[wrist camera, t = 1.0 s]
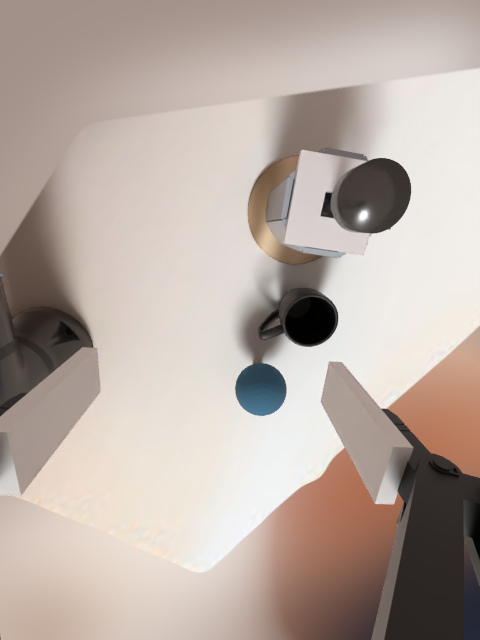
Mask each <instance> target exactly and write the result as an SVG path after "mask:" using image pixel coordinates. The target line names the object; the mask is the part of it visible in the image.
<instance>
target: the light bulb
mask: <svg viewBox="0 0 480 640" xmlns="http://www.w3.org/2000/svg"><path fill="white" fill-rule="evenodd" d="M235 390H236V396H237V400H238V401H239V403H240V405H241V406H242V407H243V408H244V409H245V410H246V411H248V412H249V413H251V414H254V415H259V416H264V415H269V414H272V413H274V412H275V411H277V410H278V409H279V408H280V407H281V405H282V404H283V402H284V400H285V397H286V383H285V380H284V378H283V376H282V374H281V373H280V372H279V371H278V370H277V369H276V368H275V367H273V366H271V365H268V364H264V363H256V364H253V365H250V366H248V367H247V368H245V369H244V370H243V371H242V372H241V374H240V375H239V377H238V379H237V381H236V387H235Z"/></svg>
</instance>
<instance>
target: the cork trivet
mask: <svg viewBox="0 0 480 640" xmlns="http://www.w3.org/2000/svg"><path fill="white" fill-rule="evenodd" d="M298 159H299V156H293V157H288V158H285V159H283V160H280V161H279V162H277V163H275V164H274V165H272V166H271V167H269V168H268V169H267V170H266V171H265V172H264V173H263V174H262V176H261V177H260V178H259V180H258V181H257V183H256V184H255V186H254V188H253V191H252V193H251V196H250V200H249V205H248V222H249V227H250V230H251V233H252V235H253V238H254V240H255V241H256V243H257V244H258V246H259V247H260V248H261V249H262V250H263V251H264V252H265V253H266V254H267V255H269V256H270V257H272V258H274V259H276V260H278V261H281V262H284V263H289V264H301V263H307V262H310V261H313V260H315V259H317V258H319V257H321V256H322V255H315V254H308V253H302V252H300V251H297V250H295V249H292V248H289V247H287V246H284V245H282V244H280V243H279V242H278V240H277V239H276V237H275V236H274V235H273V234H272V232H271V230H270V228H269V227H268V225H267V224H266V222H267V221H265V219H266V211H267V205H268V201H269V195H270V193H271V191H272V190H273V189H275V188H276V187H277V186H278V185H279V184H280V183H281V182H282V181H283V180H285V179H286V178H287V177H288V176H289V175H290V174H291V173H293V172H294V171H295V170H296V169H297V164H298Z"/></svg>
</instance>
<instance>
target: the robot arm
mask: <svg viewBox="0 0 480 640" xmlns="http://www.w3.org/2000/svg"><path fill="white" fill-rule="evenodd" d="M1 278H3V275H2V273H0V495H10V496H21V495H22V494H23V492H24V491H25V490H26V488H27V487H28V486H29V485H30V483H31V482H32V481H33V479H34V478H35V477H36V475H37V474H38V473H39V471H40V470H41V469H42V467H43V466H44V465H45V464H46V462H47V461H48V460H49V458H50V457H51V456H52V454H53V453H54V452H55V450H56V449H57V448H58V447H59V445H60V444H61V443H62V441H63V440H64V439H65V437H66V436H67V435H68V433H69V432H70V431H71V429H72V428H73V427H74V426H75V424H76V423H77V422H78V420H79V419H80V418H81V416H82V415H83V414H84V412H85V411H86V410H87V409H88V407H89V406H90V405H91V403H92V402H93V401H94V399H95V398H96V397H97V395H98V394H99V393H100V379H99V366H98V354H97V348H93V346H92V342H91V339H90V337H89V335H88V333H87V332H86V330H85V329H84V328H83V326H82V325H81V324H80V323H79V322H78V321H77V320H75V319H74V318H73V317H71V316H70V315H68V314H66V313H64V312H62V311H59V310H56V309H52V308H44V307H40V308H32V309H29V310H26V311H24V312H21V313H19V314H17V315H15V316H13V317H12V318H11V314H10V310H9V306H8V302H7V298H6V294H5V291H4V287H3V283H2V279H1ZM321 403H322V405H323V407H324V409H325V411H326V413H327V415H328V417H329V418H330V420H331V422H332V424H333V426H334V428H335V430H336V432H337V433H338V435H339V437H340V439H341V441H342V443H343V445H344V447H345V448H346V450H347V452H348V454H349V456H350V458H351V459H352V462H353V463H354V465H355V467H356V469H357V471H358V473H359V475H360V477H361V478H362V480H363V482H364V484H365V486H366V488H367V490H368V492H369V493H370V495H371V497H372V499H373V501H374V503H375V504H394V502H395V499H396V496H397V494H398V493H399V494H400V496H401V497H402V499H403V501H404V504H403V506H402V509H401V512H400V515H399V518H398V520H397V523H398V527H397V531H396V536H395V540H394V544H393V549H392V553H391V557H390V561H389V566H388V570H387V575H386V579H385V583H384V588H383V592H382V596H381V600H380V605H379V609H378V614H377V618H376V623H375V627H374V631H373V635H372V639H371V640H464V539H465V542H466V545H467V548H468V552H469V554H470V558H471V561H472V564H473V567H474V570H475V573H476V577H477V580H478V583H479V586H480V478H478V477H473V476H470V475H467V474H463V473H462V472H461V471H460V470H459V468H458V467H457V466H456V465H455V464H453V463H452V462H450V461H449V460H447V459H445V458H444V457H442V456H439V455H436V454H431V453H430V452H429V451H428V450H427V449H426V448H425V446H424V445H423V444H422V443H421V442H420V441H419V440H418V439H417V438H416V436H415V435H414V434H413V433H412V432H410V430H409V429H408V428H407V426H405V425H404V423H403V422H402V421H401V420H400V419H399V417H398V416H396V415H395V414H394V413H392V412H391V411H389V410H388V409H381V408H380V407H379V406H378V405H377V404H376V402H375V401H374V400H373V399H372V398H371V396H370V395H369V394H368V393H367V392H366V390H365V389H364V388H363V387H362V386H361V385H360V383H359V382H358V381H357V380H356V379H355V377H354V376H353V375H352V374H351V373H350V371H349V370H348V369H347V368H346V367H345V366H344V364H343V363H342V362H329V365H328V369H327V374H326V379H325V384H324V389H323V394H322V398H321Z"/></svg>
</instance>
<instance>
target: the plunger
mask: <svg viewBox="0 0 480 640" xmlns="http://www.w3.org/2000/svg"><path fill="white" fill-rule="evenodd" d="M410 196H411V183H410V179H409V177H408V174H407V172H406V171H405V169H404V168H403V167H402V166H401V165H400V164H399V163H397V162H395V161H393V160H391V159H386V158H377V159H372V160H370V161H367V162H365V163H363V164H361V165H359V166H357V167H355V168H353V169H351V170H349V171H348V172H346V173H345V174H344V175H343V176H342V177H341V178H340V179H339V181H338V182H337V184H336V185H335V187H334V190H333V193H327V192H326V193H325V197H324V202H323V206H322V211H321V216H322V217H329V218H334V219H335V220H336V222H337V223H338V224H339V225H340V226H341V227H342V228H343V229H345V230H347V231H350V232H355V233H379V232H382V231H385V230H387V229H389V228H390V227H392V226H393V225H394V224H396V223H397V222H398V221H399V220H400V218H401V217H402V216H403V214H404V213H405V211H406V209H407V207H408V204H409V201H410Z"/></svg>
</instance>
